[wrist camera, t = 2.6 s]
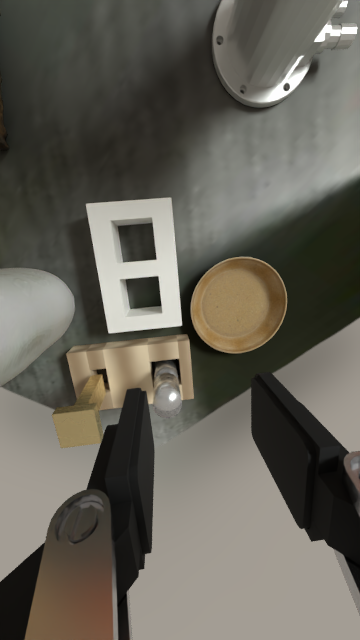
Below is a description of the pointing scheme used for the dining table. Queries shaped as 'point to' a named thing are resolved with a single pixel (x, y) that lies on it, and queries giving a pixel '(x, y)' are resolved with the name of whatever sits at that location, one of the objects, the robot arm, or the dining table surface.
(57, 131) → the dining table surface
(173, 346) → the socket block
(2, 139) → the hand tool
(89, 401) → the gold square peg
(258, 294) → the plant saucer
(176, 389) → the clear glass vial
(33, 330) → the glass bottle
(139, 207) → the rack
